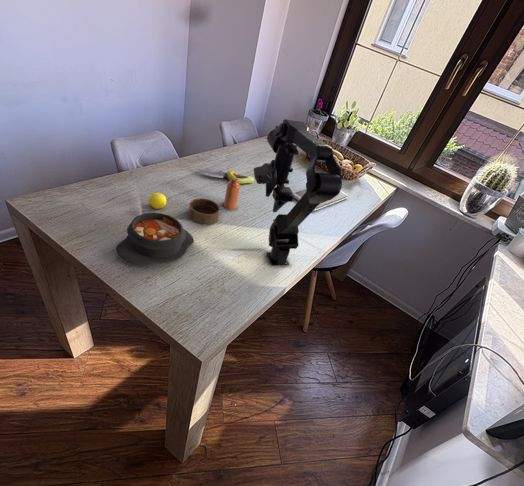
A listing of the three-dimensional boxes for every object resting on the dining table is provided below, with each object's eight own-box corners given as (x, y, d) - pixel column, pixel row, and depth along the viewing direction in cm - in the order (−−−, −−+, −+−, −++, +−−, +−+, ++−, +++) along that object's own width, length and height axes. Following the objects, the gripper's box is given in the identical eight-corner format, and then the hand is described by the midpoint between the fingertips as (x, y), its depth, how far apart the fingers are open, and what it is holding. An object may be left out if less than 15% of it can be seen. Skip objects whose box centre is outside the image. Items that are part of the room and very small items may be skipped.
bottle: (234, 211, 139) (240, 183, 132) (222, 208, 139) (227, 180, 131) (236, 205, 143) (242, 178, 135) (224, 202, 143) (229, 174, 135)
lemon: (153, 213, 126) (154, 200, 122) (144, 206, 128) (144, 192, 125) (170, 209, 131) (171, 195, 127) (161, 201, 133) (161, 188, 129)
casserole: (167, 222, 125) (168, 200, 119) (206, 250, 119) (209, 228, 113) (102, 247, 108) (99, 223, 102) (143, 281, 102) (143, 258, 96)
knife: (195, 177, 151) (253, 187, 157) (195, 171, 149) (254, 181, 155) (195, 168, 157) (252, 178, 162) (196, 162, 155) (253, 173, 160)
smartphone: (290, 196, 159) (292, 193, 158) (326, 185, 176) (327, 181, 174) (313, 212, 154) (315, 208, 152) (347, 198, 170) (349, 195, 169)
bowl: (221, 226, 130) (223, 215, 127) (191, 225, 126) (192, 214, 123) (214, 209, 137) (216, 198, 134) (185, 208, 133) (186, 197, 130)
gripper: (252, 144, 118) (242, 187, 129) (267, 175, 106) (255, 219, 117) (283, 148, 121) (271, 189, 132) (301, 178, 110) (286, 220, 121)
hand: (270, 204), depth 126 cm, fingers open, 9 cm apart
